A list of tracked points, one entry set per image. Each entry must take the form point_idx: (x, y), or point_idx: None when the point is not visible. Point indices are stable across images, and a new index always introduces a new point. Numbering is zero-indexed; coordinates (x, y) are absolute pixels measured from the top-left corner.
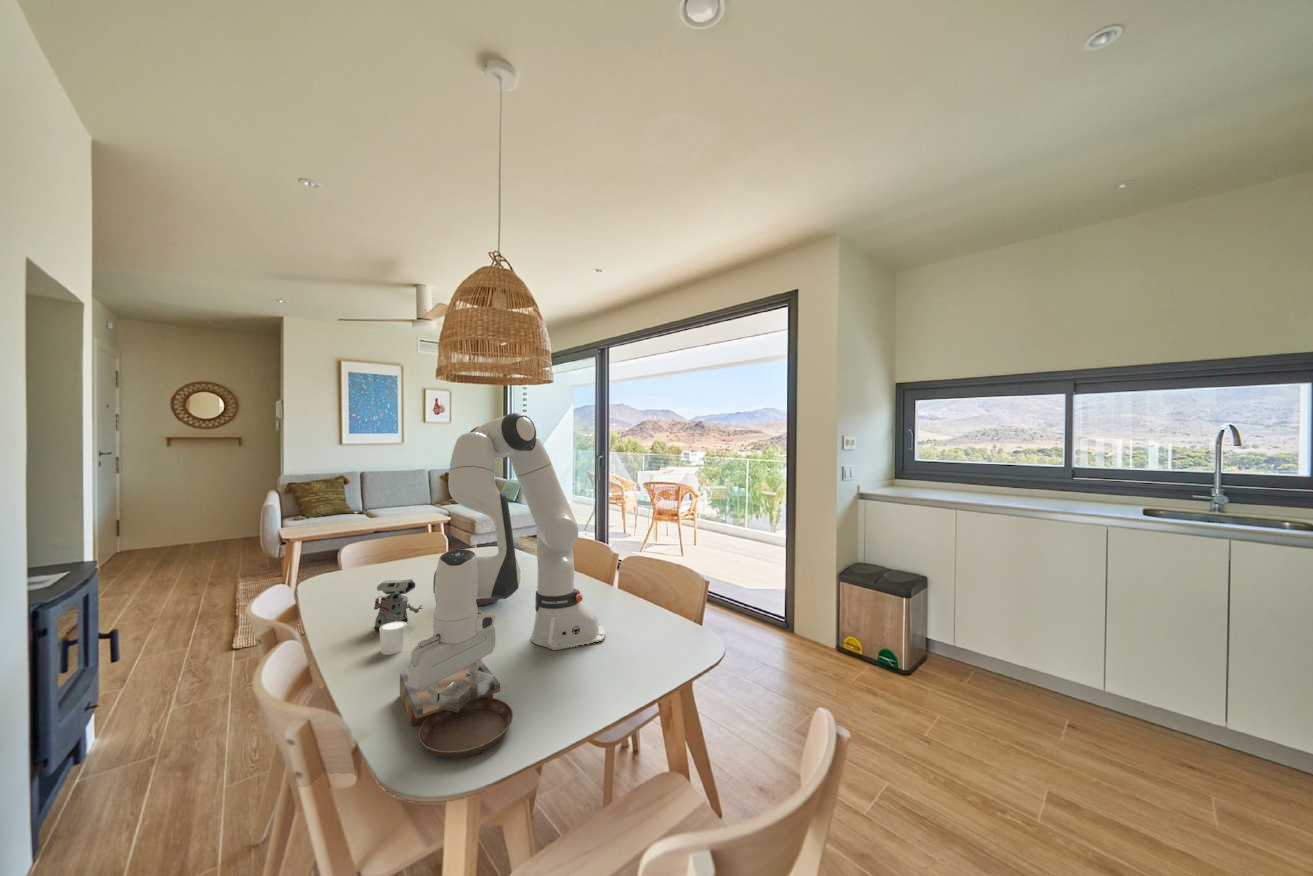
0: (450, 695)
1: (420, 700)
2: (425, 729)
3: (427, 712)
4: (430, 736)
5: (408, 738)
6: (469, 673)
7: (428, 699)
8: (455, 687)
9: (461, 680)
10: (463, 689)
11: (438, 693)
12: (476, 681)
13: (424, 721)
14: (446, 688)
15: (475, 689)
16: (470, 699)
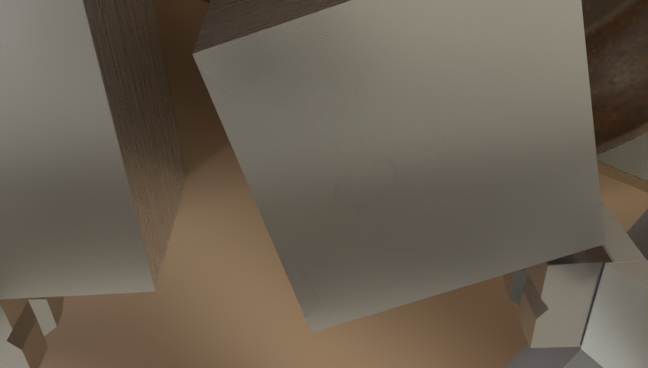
0: (565, 106)
1: (482, 362)
2: (630, 78)
3: (625, 180)
4: (608, 8)
5: (640, 144)
6: (1, 343)
7: (443, 331)
8: (375, 211)
9: (58, 356)
10: (343, 72)
11: (590, 267)
12: (37, 92)
13: (618, 142)
14: (462, 278)
15: (120, 3)
16: (200, 6)
